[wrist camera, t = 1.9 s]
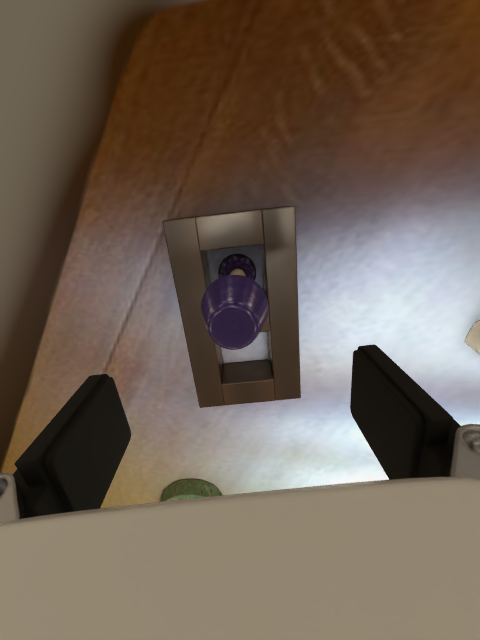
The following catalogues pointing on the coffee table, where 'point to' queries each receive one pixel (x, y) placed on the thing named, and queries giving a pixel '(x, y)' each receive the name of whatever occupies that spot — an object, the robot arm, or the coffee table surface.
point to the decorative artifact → (189, 490)
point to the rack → (279, 286)
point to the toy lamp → (234, 304)
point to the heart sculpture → (474, 337)
